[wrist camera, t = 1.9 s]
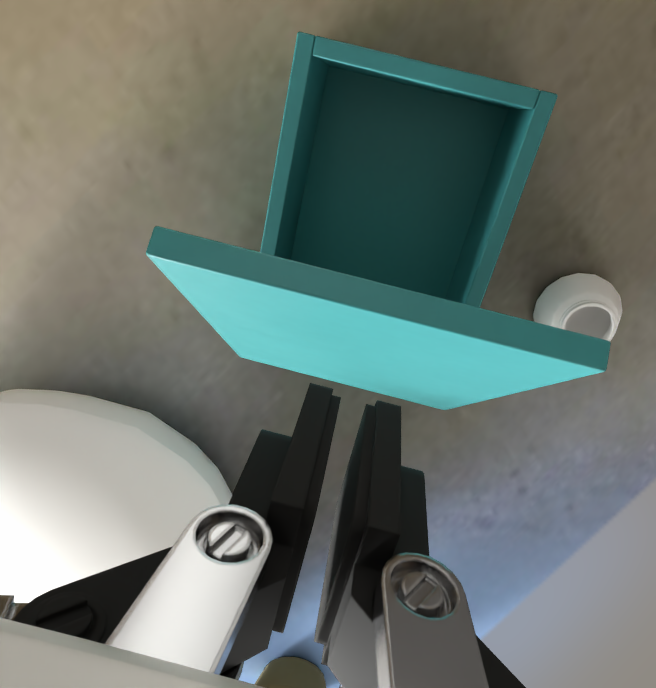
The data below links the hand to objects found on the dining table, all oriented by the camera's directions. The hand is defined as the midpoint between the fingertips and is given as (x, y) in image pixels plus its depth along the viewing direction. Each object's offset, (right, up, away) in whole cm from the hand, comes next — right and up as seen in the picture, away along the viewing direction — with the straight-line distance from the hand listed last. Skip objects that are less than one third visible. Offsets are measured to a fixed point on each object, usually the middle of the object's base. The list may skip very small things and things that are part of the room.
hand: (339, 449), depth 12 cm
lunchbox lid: (+1, +2, +9) cm, 9 cm away
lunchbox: (+3, +10, +20) cm, 23 cm away
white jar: (+15, +5, +22) cm, 27 cm away
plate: (-20, -12, +34) cm, 41 cm away
